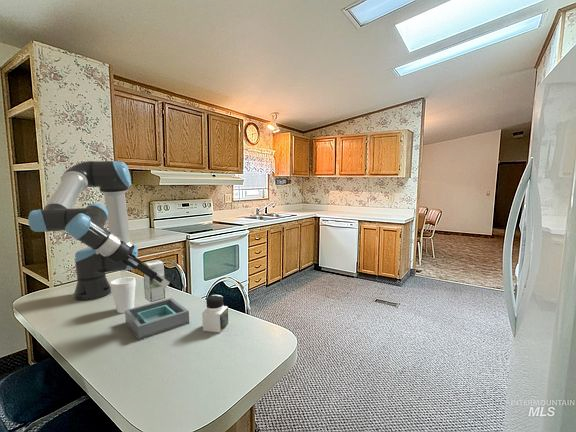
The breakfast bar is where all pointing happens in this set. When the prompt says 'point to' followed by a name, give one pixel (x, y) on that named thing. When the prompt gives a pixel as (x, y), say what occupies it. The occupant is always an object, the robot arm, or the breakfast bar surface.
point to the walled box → (156, 318)
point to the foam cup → (123, 293)
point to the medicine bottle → (215, 314)
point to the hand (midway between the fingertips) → (164, 282)
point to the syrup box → (151, 287)
